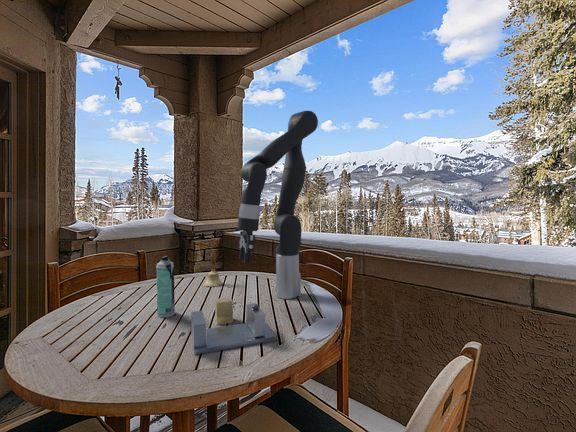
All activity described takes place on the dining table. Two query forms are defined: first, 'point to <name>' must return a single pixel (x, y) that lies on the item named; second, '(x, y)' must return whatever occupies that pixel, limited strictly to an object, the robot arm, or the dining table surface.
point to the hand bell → (213, 273)
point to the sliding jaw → (255, 319)
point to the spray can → (165, 288)
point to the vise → (223, 335)
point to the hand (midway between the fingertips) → (244, 261)
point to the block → (223, 310)
